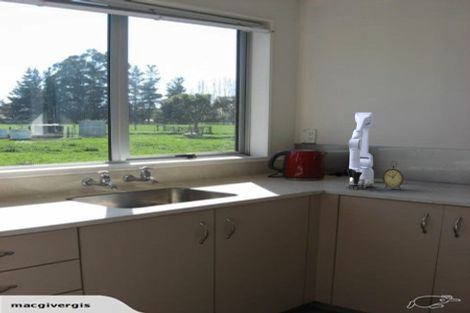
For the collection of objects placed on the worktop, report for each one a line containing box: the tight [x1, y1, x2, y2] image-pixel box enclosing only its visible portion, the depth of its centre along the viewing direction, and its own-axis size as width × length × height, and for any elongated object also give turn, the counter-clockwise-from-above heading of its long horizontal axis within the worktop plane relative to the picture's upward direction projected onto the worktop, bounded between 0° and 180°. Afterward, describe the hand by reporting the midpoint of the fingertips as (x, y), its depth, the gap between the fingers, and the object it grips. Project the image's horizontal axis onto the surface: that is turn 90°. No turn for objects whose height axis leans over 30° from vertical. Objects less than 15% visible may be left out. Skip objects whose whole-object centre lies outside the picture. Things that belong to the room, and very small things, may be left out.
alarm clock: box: [382, 160, 404, 191], centre depth 234 cm, size 11×5×16 cm, turn 62°
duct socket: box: [345, 178, 375, 190], centre depth 239 cm, size 18×9×5 cm, turn 117°
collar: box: [348, 177, 357, 186], centre depth 237 cm, size 4×4×6 cm
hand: (353, 182), depth 237 cm, fingers open, 7 cm apart
